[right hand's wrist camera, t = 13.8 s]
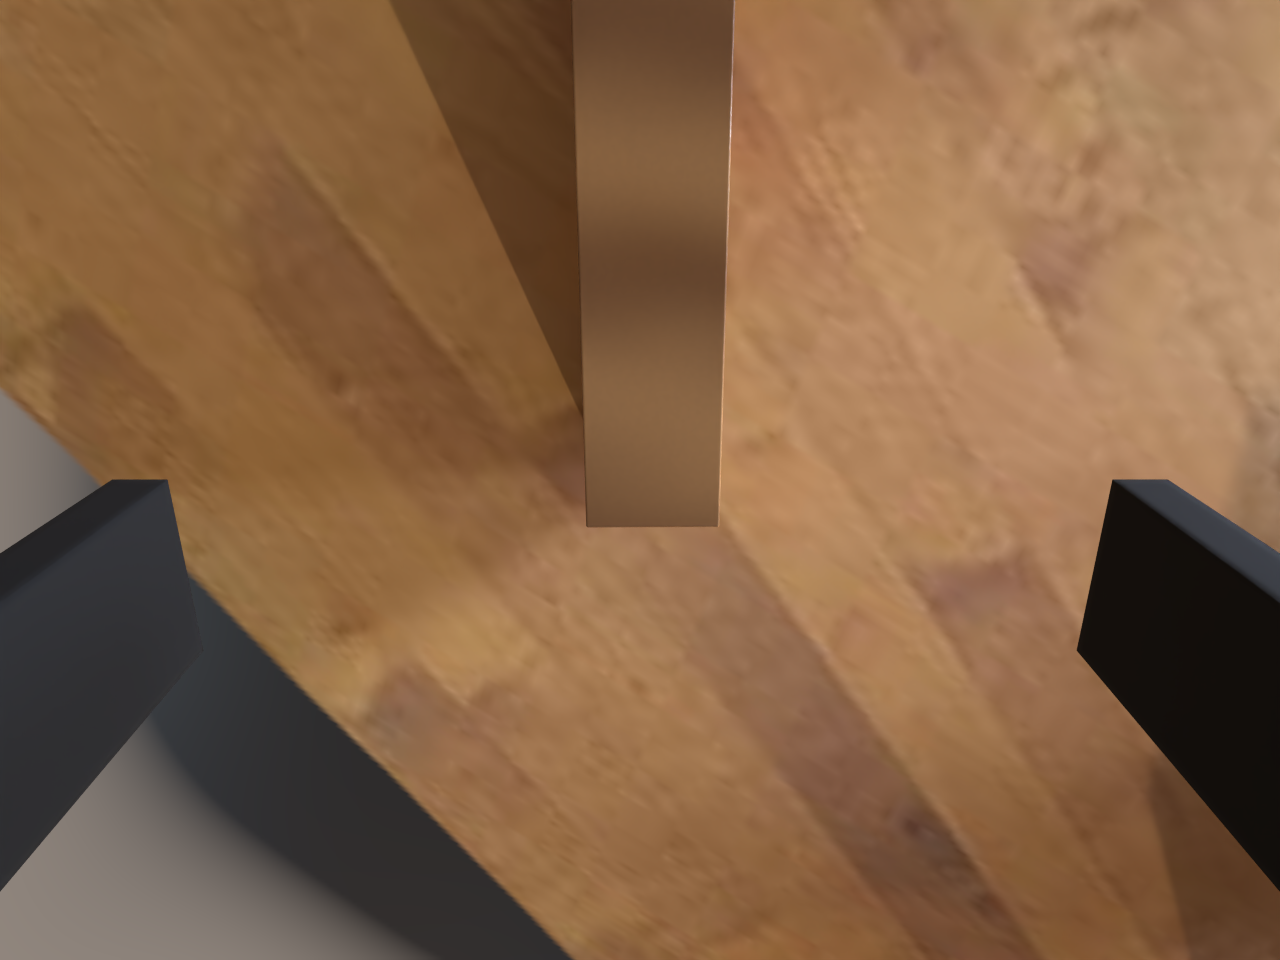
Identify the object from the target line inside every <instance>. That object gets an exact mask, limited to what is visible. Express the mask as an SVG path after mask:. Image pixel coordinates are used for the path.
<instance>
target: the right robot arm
mask: <svg viewBox="0 0 1280 960" xmlns="http://www.w3.org/2000/svg"><path fill="white" fill-rule="evenodd" d="M202 651H203V647H202V642H201V637H200V633H199V628H198V623H197V618H196V614H195V609H194V604H193V599H192V594H191V590H190V585H189V580H188V575H187V571H186V566H185V561H184V556H183V552H182V547H181V542H180V537H179V532H178V528H177V523H176V518H175V513H174V509H173V504H172V499H171V494H170V489H169V485H168V480H111V481H109V482H108V483H106V484H105V485H103V486H102V487H100V488H99V489H97V490H96V491H94V492H93V493H91V494H90V495H88V496H87V497H85V498H84V499H82V500H81V501H79V502H78V503H76V504H75V505H73V506H72V507H70V508H68V509H67V510H65V511H64V512H62V513H61V514H59V515H58V516H56V517H55V518H53V519H52V520H50V521H49V522H47V523H46V524H44V525H43V526H41V527H40V528H38V529H37V530H35V531H34V532H32V533H31V534H29V535H27V536H26V537H24V538H23V539H21V540H20V541H18V542H17V543H15V544H14V545H12V546H11V547H9V548H8V549H6V550H5V551H3V552H2V553H0V891H1V890H2V889H3V888H4V886H5V885H6V884H7V883H8V881H9V880H10V879H11V878H12V877H13V876H14V874H15V873H16V872H17V871H18V870H19V869H20V867H21V866H22V865H23V864H24V863H25V861H26V860H27V859H28V858H29V857H30V855H31V854H32V853H33V852H34V851H35V850H36V848H37V847H38V846H39V845H40V844H41V842H42V841H43V840H44V839H45V838H46V836H47V835H48V834H49V833H50V832H51V830H52V829H53V828H54V827H55V826H56V825H57V823H58V822H59V821H60V820H61V819H62V817H63V816H64V815H65V814H66V813H67V812H68V810H69V809H70V808H71V807H72V806H73V804H74V803H75V802H76V801H77V800H78V799H79V797H80V796H81V795H82V794H83V793H84V791H85V790H86V789H87V788H88V787H89V785H90V784H91V783H92V782H93V781H94V780H95V778H96V777H97V776H98V775H99V774H100V772H101V771H102V770H103V769H104V768H105V766H106V765H107V764H108V763H109V762H110V761H111V759H112V758H113V757H114V756H115V754H116V753H117V752H118V751H119V750H120V749H121V747H122V746H123V745H124V744H125V743H126V742H127V740H128V739H129V738H130V737H131V736H132V734H133V733H134V732H135V731H136V730H137V728H138V727H139V726H140V725H141V724H142V723H143V721H144V720H145V719H146V718H147V717H148V715H149V714H150V713H151V712H152V711H153V709H154V708H155V707H156V706H157V705H158V704H159V702H160V701H161V700H162V699H163V698H164V696H165V695H166V694H167V693H168V692H169V690H170V689H171V688H172V687H173V686H174V685H175V683H176V682H177V681H178V680H179V679H180V677H181V676H182V675H183V674H184V673H185V672H186V670H187V669H188V668H189V667H190V666H191V664H192V663H193V662H194V661H195V660H196V658H197V657H198V656H199V655H200V654H201V652H202ZM1077 651H1078V653H1079V654H1080V655H1081V656H1082V657H1083V658H1084V660H1085V661H1086V662H1087V663H1088V664H1089V666H1090V667H1091V668H1092V669H1093V670H1094V672H1095V673H1096V674H1097V675H1098V676H1099V677H1100V679H1101V680H1102V681H1103V682H1104V683H1105V685H1106V686H1107V687H1108V688H1109V689H1110V690H1111V692H1112V693H1113V694H1114V695H1115V696H1116V698H1117V699H1118V700H1119V701H1120V702H1121V704H1122V705H1123V706H1124V707H1125V708H1126V709H1127V711H1128V712H1129V713H1130V714H1131V715H1132V717H1133V718H1134V719H1135V720H1136V721H1137V723H1138V724H1139V725H1140V726H1141V727H1142V728H1143V730H1144V731H1145V732H1146V733H1147V734H1148V736H1149V737H1150V738H1151V739H1152V740H1153V742H1154V743H1155V744H1156V745H1157V746H1158V747H1159V749H1160V750H1161V751H1162V752H1163V753H1164V755H1165V756H1166V757H1167V758H1168V759H1169V761H1170V762H1171V763H1172V764H1173V765H1174V766H1175V768H1176V769H1177V770H1178V771H1179V772H1180V774H1181V775H1182V776H1183V777H1184V778H1185V780H1186V781H1187V782H1188V783H1189V784H1190V785H1191V787H1192V788H1193V789H1194V790H1195V791H1196V793H1197V794H1198V795H1199V796H1200V797H1201V799H1202V800H1203V801H1204V802H1205V803H1206V804H1207V806H1208V807H1209V808H1210V809H1211V810H1212V812H1213V813H1214V814H1215V815H1216V816H1217V817H1218V819H1219V820H1220V821H1221V822H1222V823H1223V825H1224V826H1225V827H1226V828H1227V829H1228V831H1229V832H1230V833H1231V834H1232V835H1233V836H1234V838H1235V839H1236V840H1237V841H1238V842H1239V844H1240V845H1241V846H1242V847H1243V848H1244V850H1245V851H1246V852H1247V853H1248V854H1249V855H1250V857H1251V858H1252V859H1253V860H1254V861H1255V863H1256V864H1257V865H1258V866H1259V867H1260V869H1261V870H1262V871H1263V872H1264V873H1265V874H1266V876H1267V877H1268V878H1269V879H1270V880H1271V882H1272V883H1273V884H1274V885H1275V886H1276V888H1277V889H1278V890H1279V891H1280V553H1278V552H1277V551H1275V550H1274V549H1272V548H1271V547H1269V546H1268V545H1266V544H1265V543H1263V542H1262V541H1260V540H1259V539H1257V538H1256V537H1254V536H1253V535H1251V534H1249V533H1248V532H1246V531H1245V530H1243V529H1242V528H1240V527H1239V526H1237V525H1236V524H1234V523H1233V522H1231V521H1230V520H1228V519H1227V518H1225V517H1224V516H1222V515H1221V514H1219V513H1218V512H1216V511H1215V510H1213V509H1212V508H1210V507H1208V506H1207V505H1205V504H1204V503H1202V502H1201V501H1199V500H1198V499H1196V498H1195V497H1193V496H1192V495H1190V494H1189V493H1187V492H1186V491H1184V490H1183V489H1181V488H1180V487H1178V486H1177V485H1175V484H1174V483H1172V482H1171V481H1169V480H1112V485H1111V489H1110V494H1109V499H1108V504H1107V509H1106V513H1105V518H1104V523H1103V528H1102V532H1101V537H1100V542H1099V547H1098V551H1097V556H1096V561H1095V566H1094V571H1093V575H1092V580H1091V585H1090V590H1089V594H1088V599H1087V604H1086V609H1085V614H1084V618H1083V623H1082V628H1081V633H1080V637H1079V642H1078V647H1077Z"/></svg>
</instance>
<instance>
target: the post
mask: <svg viewBox="0 0 1280 960" xmlns="http://www.w3.org/2000/svg"><path fill="white" fill-rule="evenodd" d="M734 22H735V0H571V24H572V57H573V91H574V125H575V159H576V193H577V227H578V260H579V294H580V328H581V362H582V396H583V429H584V463H585V497H586V526H587V527H718V526H719V514H720V481H721V448H722V415H723V383H724V350H725V317H726V284H727V252H728V219H729V186H730V153H731V120H732V88H733V55H734Z"/></svg>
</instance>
